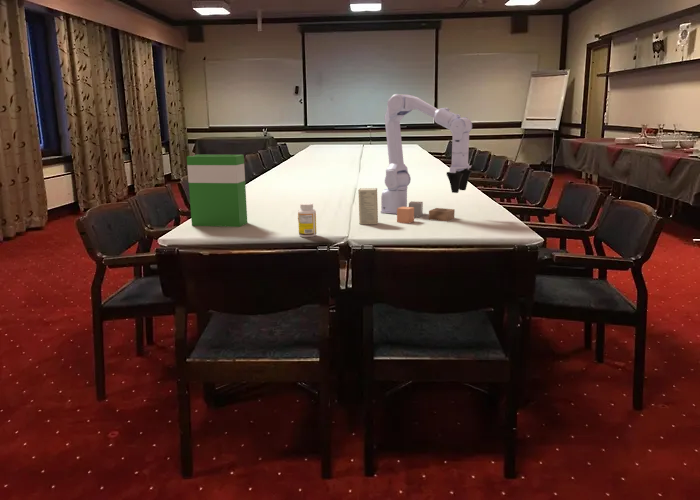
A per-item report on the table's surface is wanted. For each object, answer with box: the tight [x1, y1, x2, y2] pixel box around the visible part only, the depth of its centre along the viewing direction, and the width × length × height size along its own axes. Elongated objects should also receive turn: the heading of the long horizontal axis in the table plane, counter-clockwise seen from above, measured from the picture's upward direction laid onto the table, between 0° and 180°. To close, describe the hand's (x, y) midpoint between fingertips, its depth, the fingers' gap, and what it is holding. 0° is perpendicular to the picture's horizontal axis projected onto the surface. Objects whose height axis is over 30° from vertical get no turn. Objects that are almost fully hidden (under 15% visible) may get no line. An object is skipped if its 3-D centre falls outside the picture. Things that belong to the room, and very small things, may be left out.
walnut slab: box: [428, 207, 456, 222], centre depth 207 cm, size 7×7×4 cm
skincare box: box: [358, 187, 379, 225], centre depth 199 cm, size 6×4×12 cm
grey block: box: [408, 200, 424, 218], centre depth 214 cm, size 4×4×5 cm
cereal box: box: [186, 154, 248, 228], centre depth 200 cm, size 18×7×24 cm, turn 79°
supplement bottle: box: [297, 202, 317, 238], centre depth 180 cm, size 6×6×10 cm
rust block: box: [396, 206, 415, 224], centre depth 202 cm, size 4×4×5 cm
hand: (458, 191), depth 205 cm, fingers open, 7 cm apart
